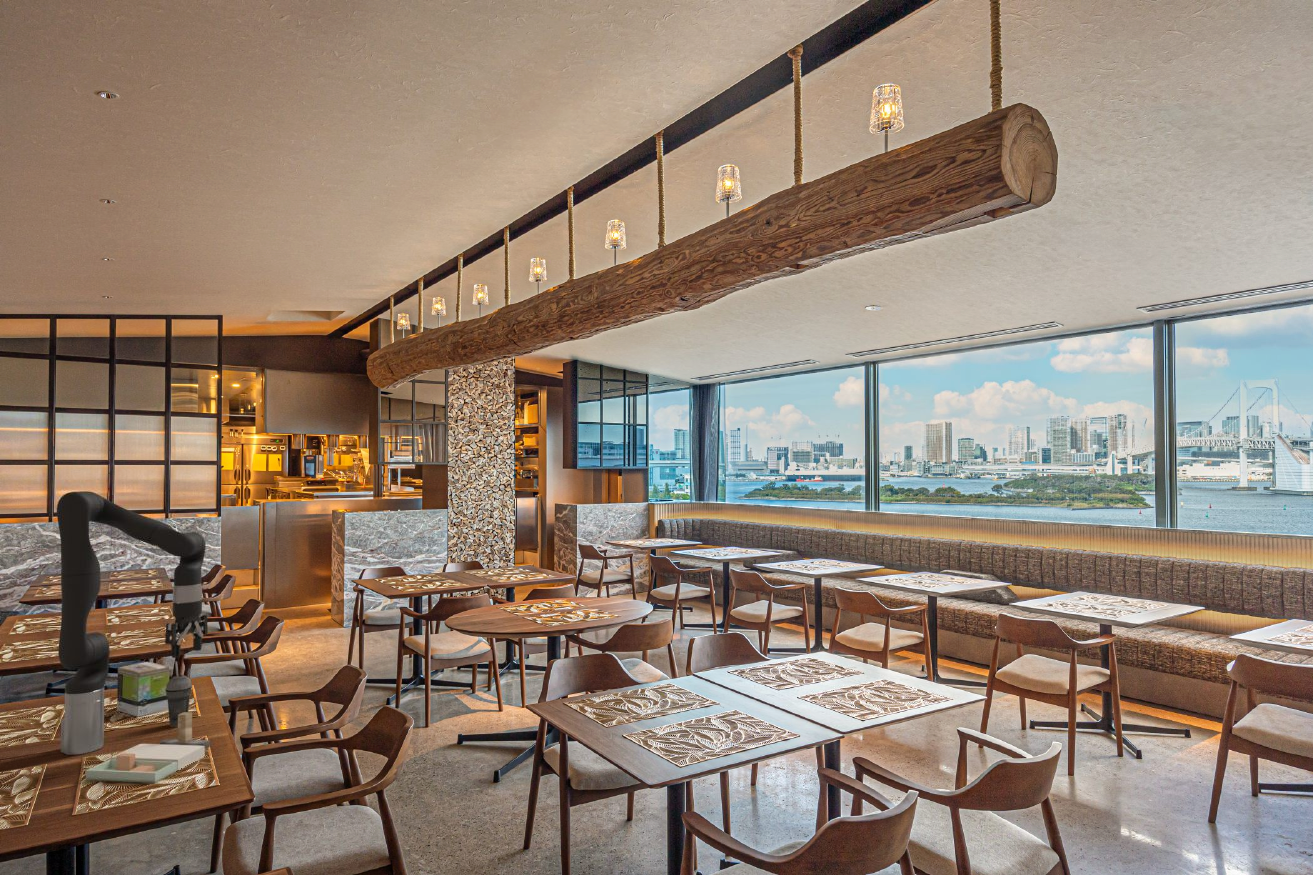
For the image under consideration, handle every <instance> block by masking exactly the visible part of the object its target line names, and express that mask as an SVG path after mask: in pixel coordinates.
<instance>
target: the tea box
mask: <svg viewBox="0 0 1313 875" xmlns="http://www.w3.org/2000/svg"><path fill="white" fill-rule="evenodd" d="M169 681H170V666H168V665H164V664H160V663H155V662H150V661H145V662H139V663H135V664H130V665H129V664H128V665H125V666H120V667H118V668H117V688H116V691H117V692H116V693H117V696H116V697H117V698H116V710H117V711H118V712H122V713H125V714H129V715H131V716H133V717H137V718H138V717H139V718H140V717H143V716H148V715H151V714H155V713H156V714H157V713H159V712H163V711H167V710H168V699H167V695H166V691H165V690H166V686H167V683H168V682H169Z"/></svg>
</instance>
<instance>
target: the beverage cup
mask: <svg viewBox="0 0 1313 875" xmlns="http://www.w3.org/2000/svg"><path fill="white" fill-rule="evenodd" d="M174 663H175V665H174V666H175V676H173V677H172V678H169V682H168V683H167V686H166V690H165V691H166V695H167V699H168V709H167V710H168V718H169V719H168V720H169V727H170V728H178V715H179V714H181V713H184V712H189V707H190V706H189V705H190V698H191V694H192V688H193V685H192V682H191V679H190V678H189V676H186V675H184V674H181V675H180V674H179V669H178V668H179V667H178V661H176V660H175V662H174Z"/></svg>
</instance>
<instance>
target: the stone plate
mask: <svg viewBox="0 0 1313 875" xmlns="http://www.w3.org/2000/svg"><path fill="white" fill-rule="evenodd" d="M205 751H206V749H205V746H193V745H164V744H160V743H140V744H137V745H134V746H132V747H130V748H128V749H126V750H124V751H122V752H120V753H117V754H114V755H112V756H110V759H116V756H117V755H119V754H122V753H128V754H135V760H145V761H172V762H177V770H179V771H180V770H182V769H184V768H186V767H188V766H190V765H191V763H192V764H193V762H194V763H196V762H197V761H199V760H201V759H203V758H205V753H206V752H205ZM195 761H196V762H195ZM189 764H190V765H189ZM187 765H188V766H187ZM185 766H186V767H185ZM181 768H182V769H181Z"/></svg>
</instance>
